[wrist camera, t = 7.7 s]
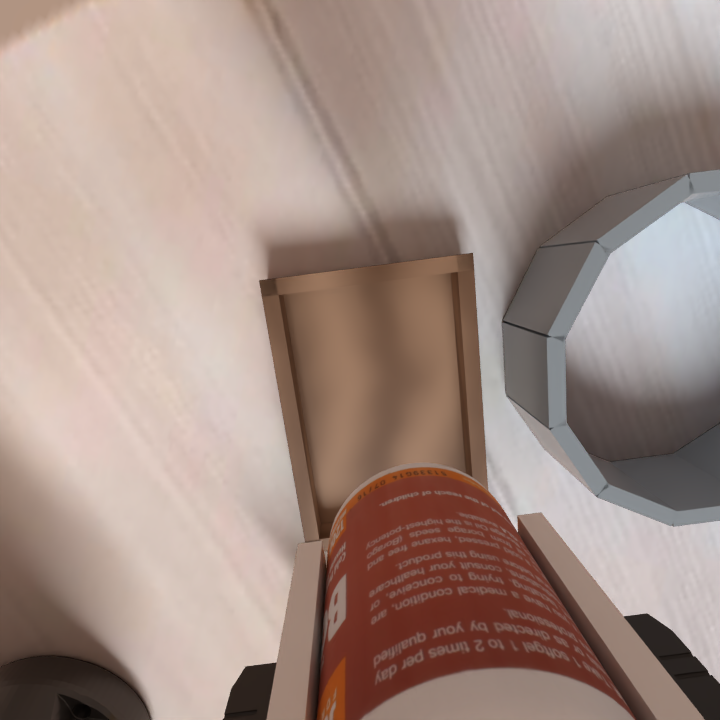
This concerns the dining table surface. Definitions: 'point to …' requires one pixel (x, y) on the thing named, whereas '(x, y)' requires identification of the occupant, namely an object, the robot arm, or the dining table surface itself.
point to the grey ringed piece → (548, 359)
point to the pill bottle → (447, 612)
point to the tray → (375, 376)
